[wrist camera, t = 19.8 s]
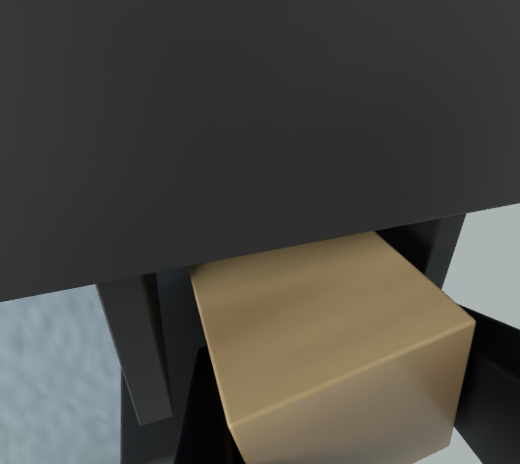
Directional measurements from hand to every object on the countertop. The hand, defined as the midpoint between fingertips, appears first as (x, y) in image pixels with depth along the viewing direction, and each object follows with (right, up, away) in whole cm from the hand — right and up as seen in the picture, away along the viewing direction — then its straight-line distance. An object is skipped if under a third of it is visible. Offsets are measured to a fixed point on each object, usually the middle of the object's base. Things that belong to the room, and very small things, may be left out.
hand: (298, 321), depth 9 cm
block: (0, +1, +1) cm, 1 cm away
